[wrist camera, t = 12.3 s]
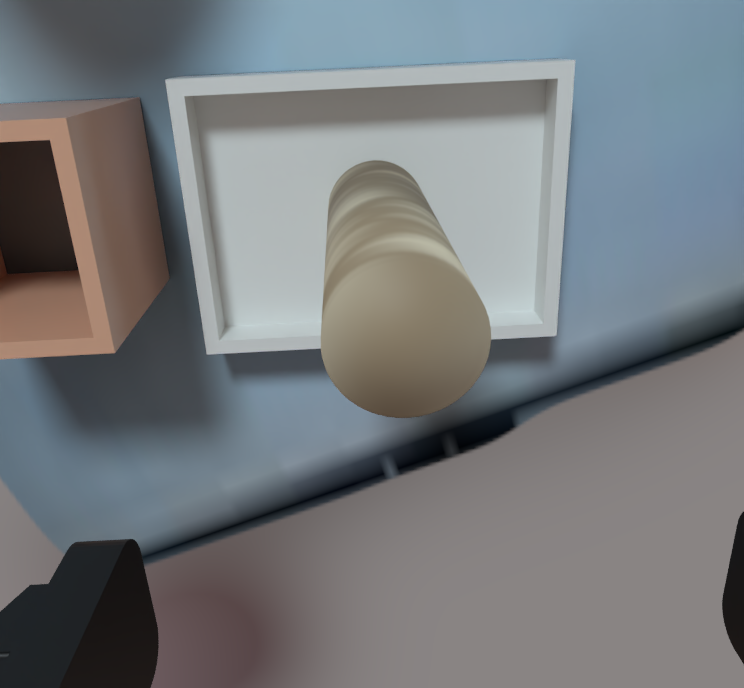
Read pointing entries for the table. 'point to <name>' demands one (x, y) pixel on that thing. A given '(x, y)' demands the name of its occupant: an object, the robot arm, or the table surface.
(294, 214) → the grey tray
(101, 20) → the table surface
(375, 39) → the table surface
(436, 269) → the maple peg
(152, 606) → the robot arm
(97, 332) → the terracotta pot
